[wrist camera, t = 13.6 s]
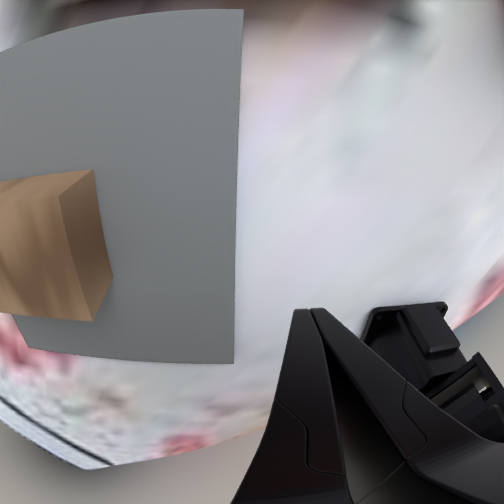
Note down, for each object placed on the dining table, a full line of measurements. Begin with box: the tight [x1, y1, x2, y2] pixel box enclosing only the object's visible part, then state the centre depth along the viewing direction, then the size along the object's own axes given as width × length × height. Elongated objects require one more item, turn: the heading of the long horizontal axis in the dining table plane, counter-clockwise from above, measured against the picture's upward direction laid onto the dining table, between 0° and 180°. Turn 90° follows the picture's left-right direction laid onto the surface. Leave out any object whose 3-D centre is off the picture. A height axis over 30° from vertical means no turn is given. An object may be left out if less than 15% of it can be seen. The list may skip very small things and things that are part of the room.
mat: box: [0, 9, 244, 364], centre depth 15 cm, size 20×16×1 cm
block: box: [0, 169, 113, 321], centre depth 13 cm, size 6×4×8 cm
